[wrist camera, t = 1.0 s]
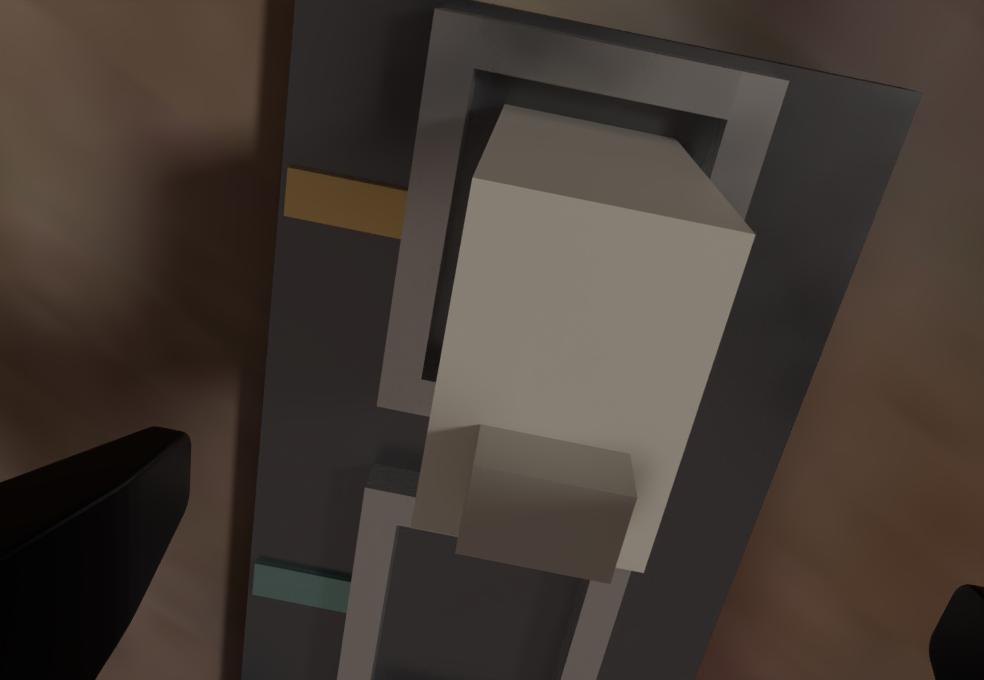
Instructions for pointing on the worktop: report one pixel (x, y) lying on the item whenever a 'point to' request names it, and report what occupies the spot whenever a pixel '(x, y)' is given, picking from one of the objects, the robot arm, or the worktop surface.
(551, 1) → the worktop surface
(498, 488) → the plug
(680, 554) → the patch board
